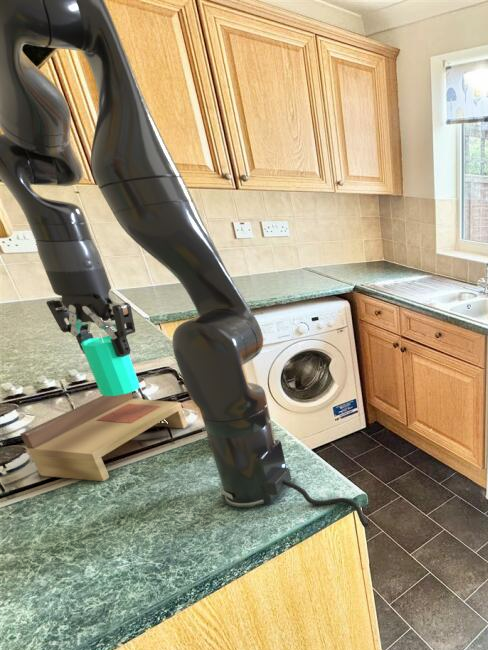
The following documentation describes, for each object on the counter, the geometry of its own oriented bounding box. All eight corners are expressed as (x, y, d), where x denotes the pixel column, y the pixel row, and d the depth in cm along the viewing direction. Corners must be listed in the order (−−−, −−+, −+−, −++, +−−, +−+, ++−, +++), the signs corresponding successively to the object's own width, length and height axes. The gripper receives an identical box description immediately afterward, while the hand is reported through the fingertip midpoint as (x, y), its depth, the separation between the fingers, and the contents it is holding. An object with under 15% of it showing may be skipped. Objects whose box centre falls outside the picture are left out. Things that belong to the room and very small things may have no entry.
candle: (143, 389, 85) (123, 333, 80) (104, 399, 80) (80, 339, 75) (135, 380, 88) (116, 326, 83) (97, 389, 84) (74, 332, 79)
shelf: (187, 425, 94) (176, 390, 91) (103, 481, 76) (85, 439, 72) (136, 421, 95) (123, 385, 91) (41, 475, 77) (19, 433, 73)
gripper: (132, 265, 77) (159, 350, 84) (57, 260, 78) (90, 345, 85) (93, 272, 70) (125, 364, 77) (11, 266, 71) (51, 358, 78)
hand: (107, 354), depth 81 cm, fingers closed on candle, 6 cm apart
